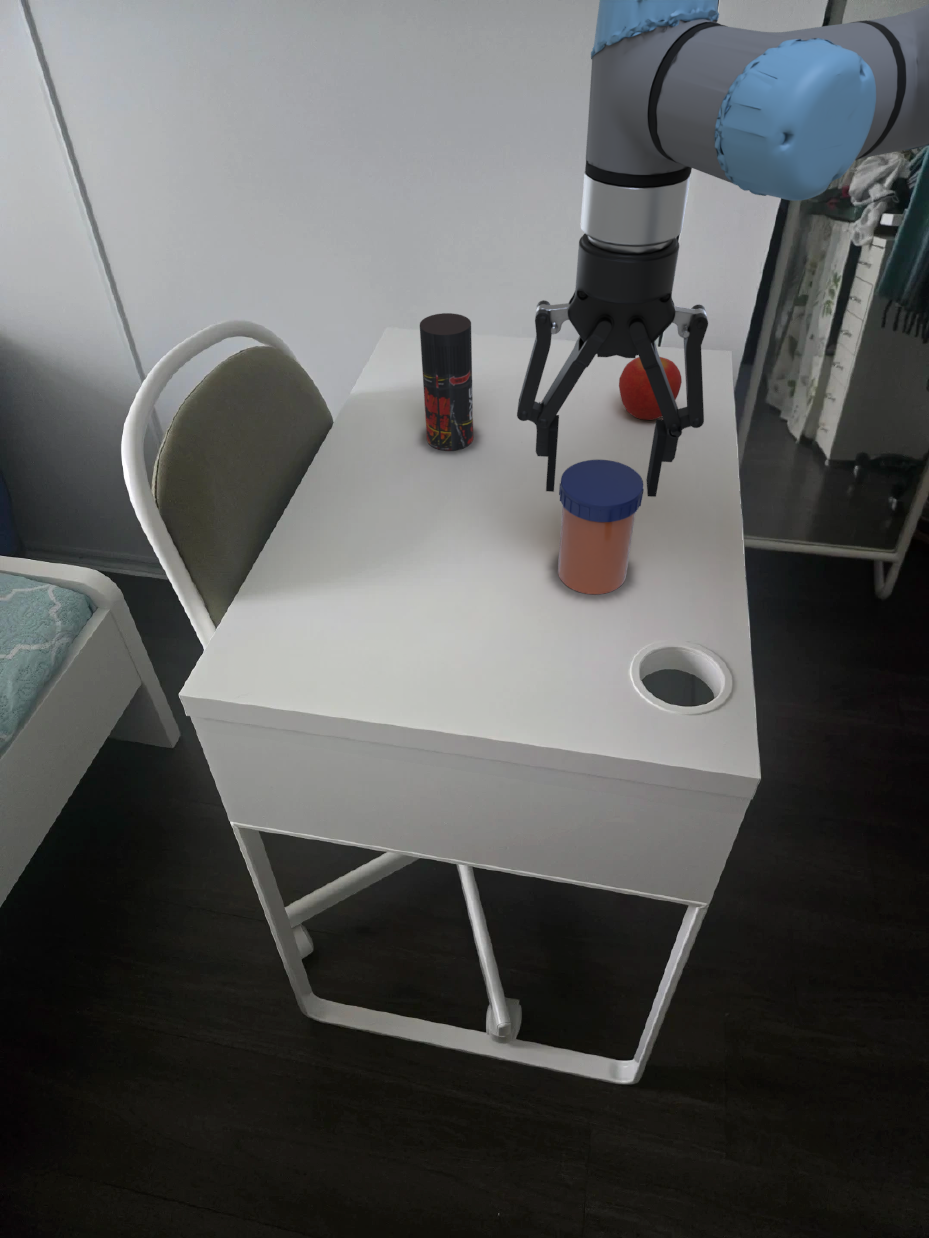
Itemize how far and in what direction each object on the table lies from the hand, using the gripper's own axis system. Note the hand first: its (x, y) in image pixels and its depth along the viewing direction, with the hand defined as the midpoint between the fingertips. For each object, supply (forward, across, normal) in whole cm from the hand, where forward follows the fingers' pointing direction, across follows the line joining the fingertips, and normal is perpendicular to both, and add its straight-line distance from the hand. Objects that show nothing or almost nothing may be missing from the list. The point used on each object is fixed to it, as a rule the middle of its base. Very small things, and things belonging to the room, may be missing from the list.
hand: (600, 485), depth 76 cm
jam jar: (+11, 0, 0) cm, 11 cm away
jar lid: (0, 0, 0) cm, 0 cm away
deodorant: (+11, +18, -25) cm, 32 cm away
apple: (+11, -7, -33) cm, 35 cm away
